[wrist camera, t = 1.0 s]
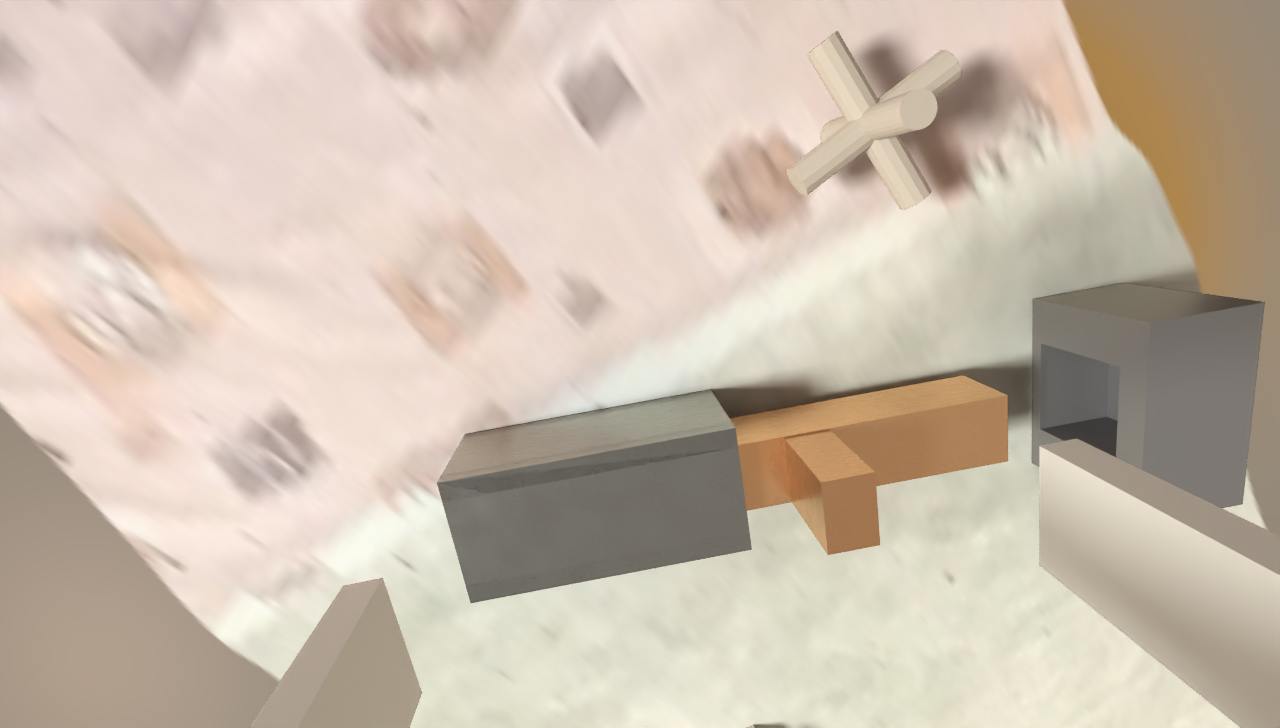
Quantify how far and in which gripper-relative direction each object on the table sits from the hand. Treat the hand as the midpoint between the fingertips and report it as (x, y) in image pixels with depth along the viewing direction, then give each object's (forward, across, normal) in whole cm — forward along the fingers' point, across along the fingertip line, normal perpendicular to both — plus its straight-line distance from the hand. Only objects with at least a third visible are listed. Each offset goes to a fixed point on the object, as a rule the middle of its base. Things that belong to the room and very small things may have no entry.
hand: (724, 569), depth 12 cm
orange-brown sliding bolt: (+27, +6, -10) cm, 29 cm away
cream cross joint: (+29, +14, +9) cm, 33 cm away
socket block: (+28, +30, -10) cm, 43 cm away
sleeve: (+28, -4, -10) cm, 30 cm away
